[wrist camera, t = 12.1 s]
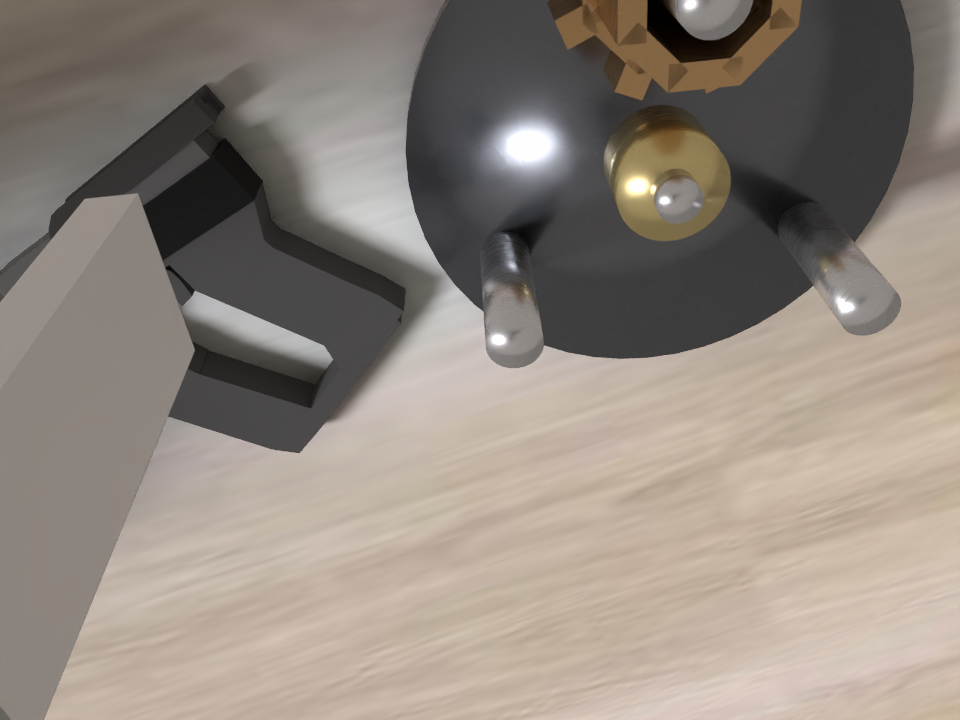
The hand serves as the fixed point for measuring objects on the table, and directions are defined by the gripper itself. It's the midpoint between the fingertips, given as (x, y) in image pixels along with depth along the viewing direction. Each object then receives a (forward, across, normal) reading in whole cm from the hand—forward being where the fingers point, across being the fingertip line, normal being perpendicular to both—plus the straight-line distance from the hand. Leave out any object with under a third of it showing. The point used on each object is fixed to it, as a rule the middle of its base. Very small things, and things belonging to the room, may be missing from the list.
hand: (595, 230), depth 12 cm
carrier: (+20, +5, -7) cm, 22 cm away
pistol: (+21, -18, -15) cm, 32 cm away
